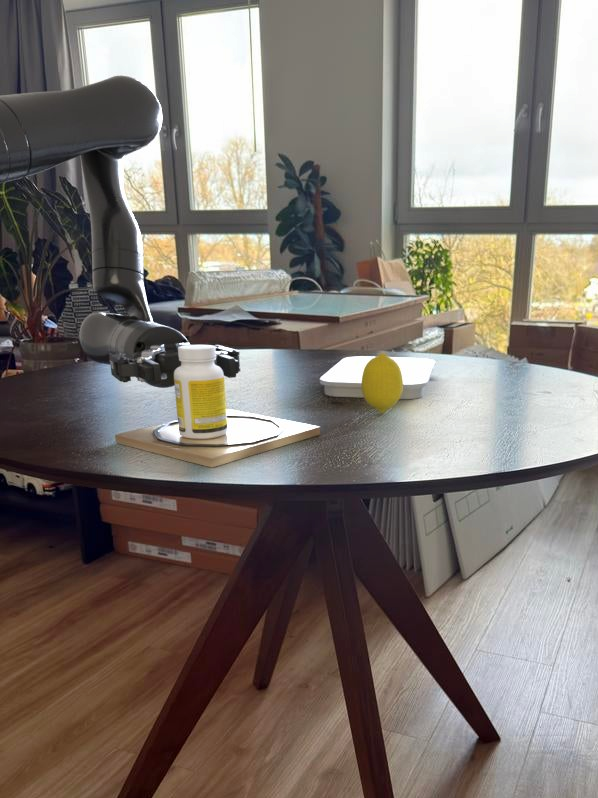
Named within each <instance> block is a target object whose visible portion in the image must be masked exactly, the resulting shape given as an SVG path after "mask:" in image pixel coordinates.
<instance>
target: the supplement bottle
mask: <svg viewBox="0 0 598 798" xmlns="http://www.w3.org/2000/svg"><path fill="white" fill-rule="evenodd" d="M178 356H179V361H181V366H180V367H178V368H176V370H175V371H174V384H175V386H174V394H175V395H174V396H175V405H176V415H177V420H178V427H179V433H180V435H181V436H182V437H185V438H191V439H210V438H216V437H219V436H222V435H224V434H226V433H227V426H228V425H227V412H226V409H227V400H226V399H227V398H226V385H225V376H224V373H223V370H222V369H221V368H220V367H219V366H217V365H215V364H214V360H216V358H215V357H216V349H215V345H212V344H190V345H185V346H180V347H178Z"/></svg>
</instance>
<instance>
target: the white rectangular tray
mask: <svg viewBox="0 0 598 798" xmlns="http://www.w3.org/2000/svg"><path fill="white" fill-rule="evenodd" d="M374 357H375V356H368V355H367V356H365V355H364V356H363V355H360V356H357V355H355V356H347V357H344V358H342V359H341V360H340V361H338V362H337V363H336V364H335V365H333V366H332V367H331V368H330V369H329V370H328V371H326V372H325V373H324V374H323V375H322V376H320V378H319V384H320V385H322V386H324V395H326V396H328V397H335V398H336V397H338V398H362V399H363V398H364V396H363V393H362V387H361V381H362V374H363V371H364V368H365V366H366V364H367V363H368V362H369V361H370V360H371V359H372V358H374ZM389 357H390V358H392V359H393V360H395V361H396V363H397V364H398V365H399V367H400V369H401V373H402V378H403V389H402V393H401V396H400V398H399V400H416V399H420V398H423V396H424V393H425V391H426V388H427V386H428V384H429V382H430V379H431V377H432V374H433V372H434V369H435V366H436V360H435V359H432V358H426V357H401V356H400V357H398V356H396V357H395V356H394V357H393V356H389ZM364 399H365V398H364Z"/></svg>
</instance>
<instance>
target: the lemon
mask: <svg viewBox="0 0 598 798" xmlns="http://www.w3.org/2000/svg"><path fill="white" fill-rule="evenodd" d="M373 357H374V358H372V359H371V360H370V361H369V362H368V363H367V364H366V366H365V368H364V371H363V374H362V381H361V387H362V393H363V396H364V400H365V401H366V403H367V404H368V405H370V406H371V407H373V408H374V409H376V410H377V412H378V413H380V414H384V413H385V412H387V410H388V409H390V408H392V407H393V406H395V405H396V404H397V403H398V401H399V400H400V399H399V398H400V396H401V393H402V389H403V378H402V373H401V369H400V367H399V365H398V364H397V363H396V361H395V360H393V359H392V358H390V357H391V356H388V355H387V354H386V353H384V352H380V353H378V355H377V356H373Z"/></svg>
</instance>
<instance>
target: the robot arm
mask: <svg viewBox="0 0 598 798" xmlns="http://www.w3.org/2000/svg"><path fill="white" fill-rule="evenodd" d="M162 124H163V111H162V106H161V104H160V102H159V100H158V97H157V96H156V94H155V93H154V92H153V91H152V90H151V89H150V88H149V87H148V86H147V85H146V84H145V83H144V82H142V81H141V80H138V79H136V78H134V77H131V76H128V75H123V74H122V75H113V76H111V77H108V78H106V79H102V80H100V81H97V82H93V83H91V84H87V85H83V86H80V87H75V88H71V89H66V90H54V91H34V92H24V93H23V92H22V93H13V94H5V95H2V94H1V95H0V185H1V184H6V183H9V182H13V181H17V180H21V179H24V178H28V177H31V176H34V175H37V174H40V173H43V172H45V171H48V170H51V169H53V168H55V167H57V166H60V165H62V164H65V163H67V162H69V161H70V160H72V159H75V158H77V157H79V158H80V162H81V168H82V174H83V175H82V176H83V180H84V186H85V191H86V197H87V204H88V209H89V210H88V211H89V219H90V229H91V231H90V232H91V234H90V235H91V258H92V259H91V268H92V270H91V271H92V272H91V273H92V275H91V276H92V287H93V291H94V292H95V293H96V294H97V295H98V296H100V297H102V298H104V299H107V300H110V301H113V302H114V303H117V304H118V305H121V306H122V308H123V309H124V310H125V312H126V314H120V313H111V312H104V311H95V312H92V313H90V314H88V315H87V316H86V317H85V318H84V319H83V321H82V323H81V325H80V328H79V333H78V334H79V335H78V337H79V343H80V347H81V349H82V351H83V353H84V354H85V355H86V357H88V359H90V360H91V361H92V362H95V363H97V364H101V365H107V366H110V374H111V376H113V378H115V379H116V380H118V381H119V382H121V383H128V382H131V381H132V379H131V378H136V379H137V381H138V382H140V383H146V384H147V385H149V386H152V387H153V388H154V387H155V388H158V389H168V388H173V387H175V384H174V371H175V370H176V368H178V367H180V366H181V361H179V356H178V347H180V346H185V345H191V344H190V342H189V340H188V339H187V338H186V336H185V335H184V334H182V333H181V332H180V331H179V330H177V329H176V328H173V327H171V326H168V325H167V326H166V325H164V324H160V323H157V322H154V320H153V315H152V313H151V310H150V305H149V302H148V299H147V294H146V289H145V268H144V267H145V266H144V263H145V262H144V246H143V245H144V244H143V239H142V234H141V230H140V228H139V225H138V222H137V220H136V219H135V216H134V214H133V212H132V210H131V207H130V205H129V203H128V200H127V197H126V193H125V189H124V188H125V187H124V166H125V165H124V164H125V158H126V156H127V155H129V154H132V153H134V152H136V151H139V150H141V149H143V148H145V147H147V146H148V145H150V144H151V143H152V142H153V141H154V140H155V139H157V137H158V135H159V133H160V131H161V128H162ZM214 346H215V349H216V357H215V358H216V360H214V364H215V365H217V366H219V367H220V368H221V369H222V370H223V373H224V377H226V378H228V379H232V378H233V379H235V378H236V377H237V374H239V372H241V371H242V370H241V362H240V350H238V349H235V348H231V347H227V346H223V345H220V344H215V345H214Z"/></svg>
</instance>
